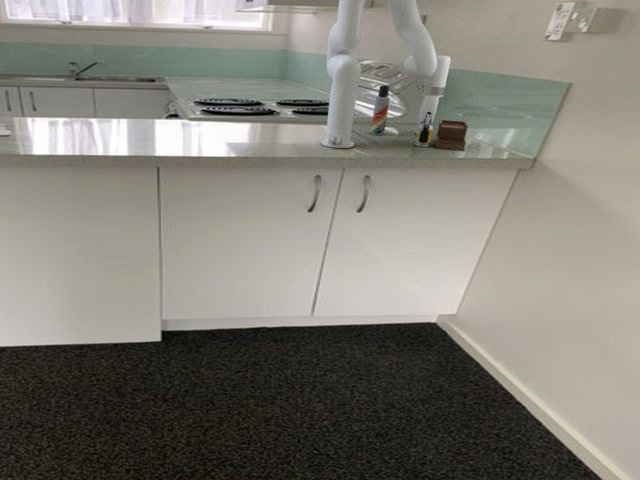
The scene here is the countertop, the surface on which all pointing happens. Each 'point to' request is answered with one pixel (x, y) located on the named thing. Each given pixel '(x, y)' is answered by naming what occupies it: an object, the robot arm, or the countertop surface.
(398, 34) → the robot arm
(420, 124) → the pale translucent container
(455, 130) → the spice rack
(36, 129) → the countertop surface
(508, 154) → the countertop surface
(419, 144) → the supplement bottle
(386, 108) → the lotion bottle
